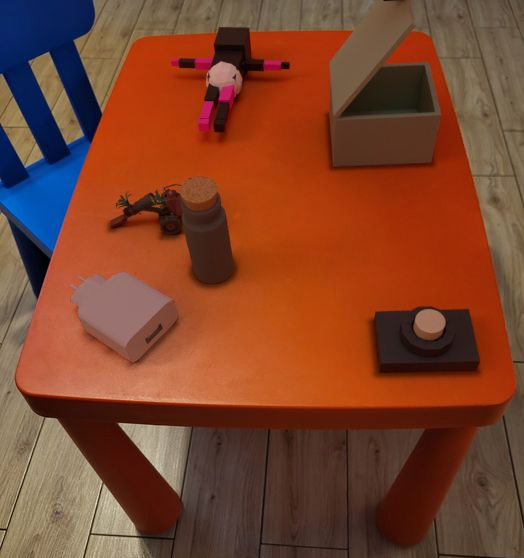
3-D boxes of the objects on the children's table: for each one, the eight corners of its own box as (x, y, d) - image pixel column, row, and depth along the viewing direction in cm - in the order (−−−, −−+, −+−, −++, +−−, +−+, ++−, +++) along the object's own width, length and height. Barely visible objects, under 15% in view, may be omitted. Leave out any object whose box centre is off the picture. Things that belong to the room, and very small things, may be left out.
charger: (102, 271, 89) (179, 318, 83) (56, 313, 85) (133, 365, 79) (93, 249, 85) (173, 297, 79) (43, 292, 81) (124, 345, 76)
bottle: (233, 284, 86) (220, 205, 73) (191, 284, 86) (172, 206, 74) (234, 252, 89) (223, 172, 77) (195, 253, 90) (177, 173, 77)
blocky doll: (294, 59, 115) (293, 25, 109) (277, 146, 102) (275, 113, 96) (181, 56, 118) (175, 23, 112) (151, 141, 104) (142, 108, 99)
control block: (465, 318, 80) (472, 300, 77) (476, 370, 76) (483, 353, 73) (373, 321, 81) (376, 302, 78) (379, 372, 77) (382, 355, 73)
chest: (420, 109, 104) (428, 61, 97) (431, 162, 97) (441, 115, 90) (329, 113, 105) (330, 66, 98) (333, 166, 98) (335, 119, 91)
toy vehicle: (209, 218, 90) (179, 185, 84) (128, 257, 95) (95, 228, 89) (208, 187, 93) (179, 153, 88) (130, 226, 99) (98, 196, 93)
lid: (404, -27, 86) (399, -30, 86) (416, 26, 79) (411, 22, 78) (332, 65, 98) (328, 62, 97) (337, 118, 90) (333, 115, 90)
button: (440, 316, 76) (443, 308, 75) (444, 340, 74) (447, 332, 73) (411, 317, 77) (413, 309, 75) (415, 341, 75) (417, 333, 73)
